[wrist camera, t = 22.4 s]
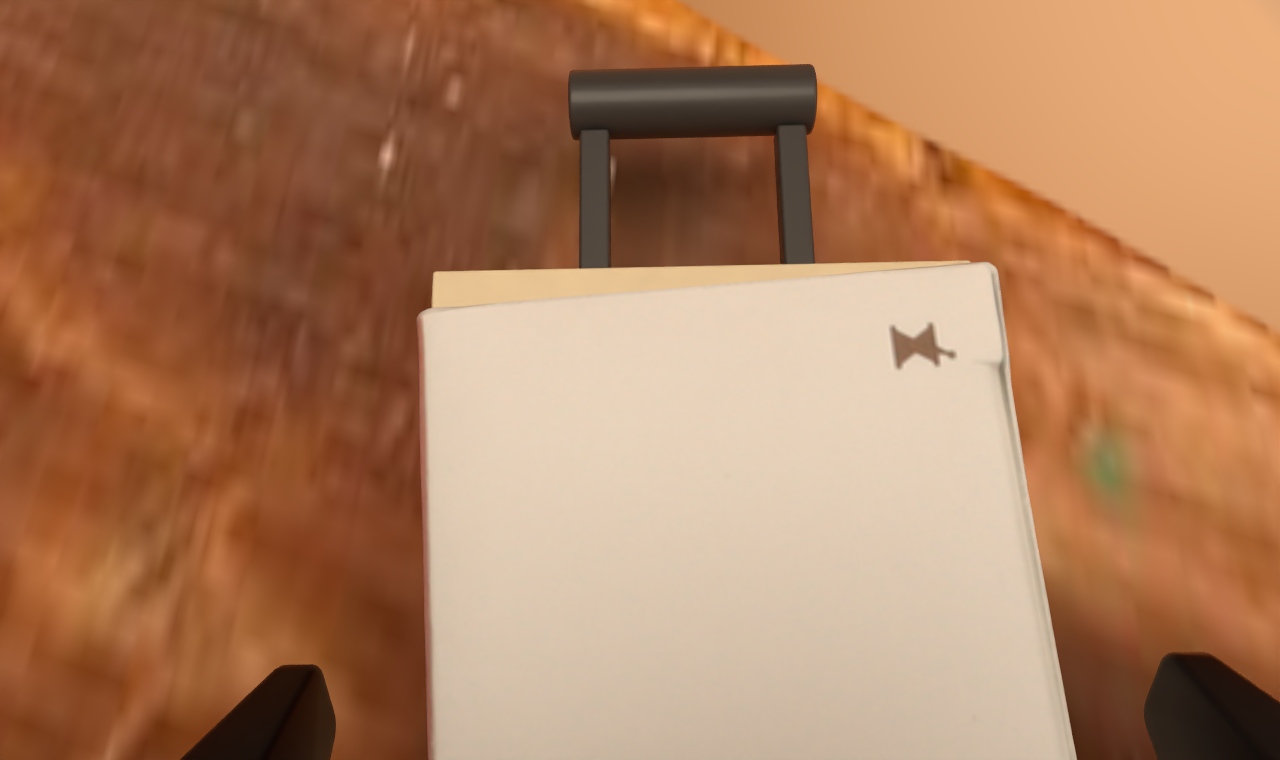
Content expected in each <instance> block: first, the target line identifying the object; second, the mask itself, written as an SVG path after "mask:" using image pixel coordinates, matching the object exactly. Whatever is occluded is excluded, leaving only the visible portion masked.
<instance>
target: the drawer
mask: <svg viewBox="0 0 1280 760" xmlns="http://www.w3.org/2000/svg"><path fill="white" fill-rule="evenodd" d="M568 102H569V119H570V129H571V134H572V137H573V139H574V140H580V219H579V269H538V270H490V271H442V272H434V273H433V288H432V308H437V307H461V306H472V305H482V304H492V303H502V302H512V301H523V300H534V299H544V298H555V297H568V296H580V295H592V294H605V293H618V292H631V291H644V290H657V289H670V288H682V287H694V286H706V285H716V284H726V283H738V282H751V281H764V280H776V279H788V278H800V277H812V276H823V275H835V274H847V273H859V272H870V271H882V270H893V269H905V268H916V267H928V266H939V265H950V264H960V263H970V261H921V262H873V263H825V264H815V257H814V242H813V227H812V212H811V197H810V181H809V166H808V151H807V136H806V135H808V134H810V133H811V132H812V130H813V127H814V123H815V118H816V109H817V79H816V73H815V69H814V67H813V66H812V65H810V64H799V65H759V66H719V67H679V68H639V69H598V70H572V71H570V74H569V81H568ZM737 136H775V137H774V155H775V173H776V191H777V209H778V227H779V245H780V262H781V264H777V265H729V266H681V267H633V268H611V165H610V139H652V138H695V137H737Z"/></svg>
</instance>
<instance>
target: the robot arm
mask: <svg viewBox="0 0 1280 760" xmlns="http://www.w3.org/2000/svg"><path fill="white" fill-rule="evenodd" d="M1144 718H1145V723H1146V727H1147V730H1148V733H1149V736H1150V739H1151V742H1152V744H1153V747H1154V750H1155V753H1156V755H1157V758H1158V760H1280V702H1279V701H1277V700H1276V699H1275V698H1273V697H1272V696H1270V695H1269V694H1268V693H1266V692H1265V691H1263V690H1262V689H1260V688H1259V687H1258V686H1256V685H1255V684H1253V683H1252V682H1251V681H1249V680H1248V679H1246V678H1245V677H1243V676H1242V675H1241V674H1239V673H1238V672H1236V671H1235V670H1233V669H1232V668H1231V667H1229V666H1228V665H1226V664H1225V663H1224V662H1222V661H1221V660H1219V659H1218V658H1216V657H1215V656H1213V655H1211V654H1208V653H1205V652H1172V653H1168V654H1167V655H1166V656H1164V657H1163V658H1162V660H1161V662H1160V665H1159V667H1158V670H1157V673H1156V675H1155V678H1154V681H1153V683H1152V686H1151V688H1150V691H1149V694H1148V696H1147V699H1146V702H1145V707H1144ZM335 730H336V720H335V714H334V710H333V706H332V703H331V700H330V696H329V693H328V689H327V686H326V682H325V679H324V676H323V673H322V671H321V669H320V668H319V667H318V666H316V665H313V664H310V665H283V666H280V667H279V668H277V669H275V670H274V671H273V672H272V673H271V674H270V675H268V676H267V677H266V678H265V679H264V680H263V681H262V682H261V683H260V684H259V685H258V686H257V687H256V688H255V689H254V690H253V691H252V692H251V693H250V694H248V695H247V696H246V697H245V698H244V699H243V700H242V701H241V702H240V703H239V704H238V705H237V706H236V707H235V708H234V709H233V710H232V711H231V712H230V713H228V714H227V715H226V716H225V717H224V718H223V719H222V720H221V721H220V722H219V723H218V724H217V725H216V726H215V727H214V728H213V729H212V730H211V731H210V732H208V733H207V734H206V735H205V736H204V737H203V738H202V739H201V740H200V741H199V742H198V743H197V744H196V745H195V746H194V747H193V748H192V749H191V750H190V751H188V752H187V753H186V754H185V755H184V756H183V757H182V758H181V759H180V760H330V757H331V753H332V748H333V743H334V738H335Z"/></svg>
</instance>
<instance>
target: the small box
mask: <svg viewBox="0 0 1280 760" xmlns="http://www.w3.org/2000/svg"><path fill="white" fill-rule="evenodd" d="M417 334H418V370H419V419H420V458H421V494H422V530H423V567H424V617H425V666H426V703H427V741H428V760H1077V757H1076V752H1075V747H1074V742H1073V737H1072V732H1071V726H1070V721H1069V715H1068V710H1067V704H1066V699H1065V693H1064V688H1063V683H1062V677H1061V672H1060V666H1059V661H1058V655H1057V650H1056V645H1055V639H1054V633H1053V628H1052V622H1051V616H1050V611H1049V605H1048V600H1047V594H1046V588H1045V583H1044V577H1043V571H1042V566H1041V560H1040V555H1039V550H1038V545H1037V541H1036V534H1035V527H1034V520H1033V515H1032V510H1031V505H1030V500H1029V495H1028V488H1027V480H1026V474H1025V467H1024V461H1023V455H1022V448H1021V442H1020V436H1019V430H1018V424H1017V418H1016V412H1015V406H1014V399H1013V393H1012V385H1011V375H1010V358H1009V350H1008V343H1007V336H1006V329H1005V322H1004V314H1003V306H1002V298H1001V290H1000V282H999V276H998V271H997V269H996V267H995V266H994V265H992V264H991V263H989V262H973V263H960V264H950V265H939V266H928V267H916V268H905V269H893V270H882V271H870V272H859V273H847V274H835V275H823V276H812V277H800V278H788V279H776V280H764V281H751V282H738V283H726V284H716V285H706V286H694V287H682V288H670V289H657V290H644V291H631V292H618V293H605V294H592V295H580V296H568V297H555V298H544V299H534V300H523V301H512V302H502V303H492V304H482V305H472V306H461V307H437V308H430V309H427V310H425V311H423V312H421V313H420V314H419V316H418V318H417Z"/></svg>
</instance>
